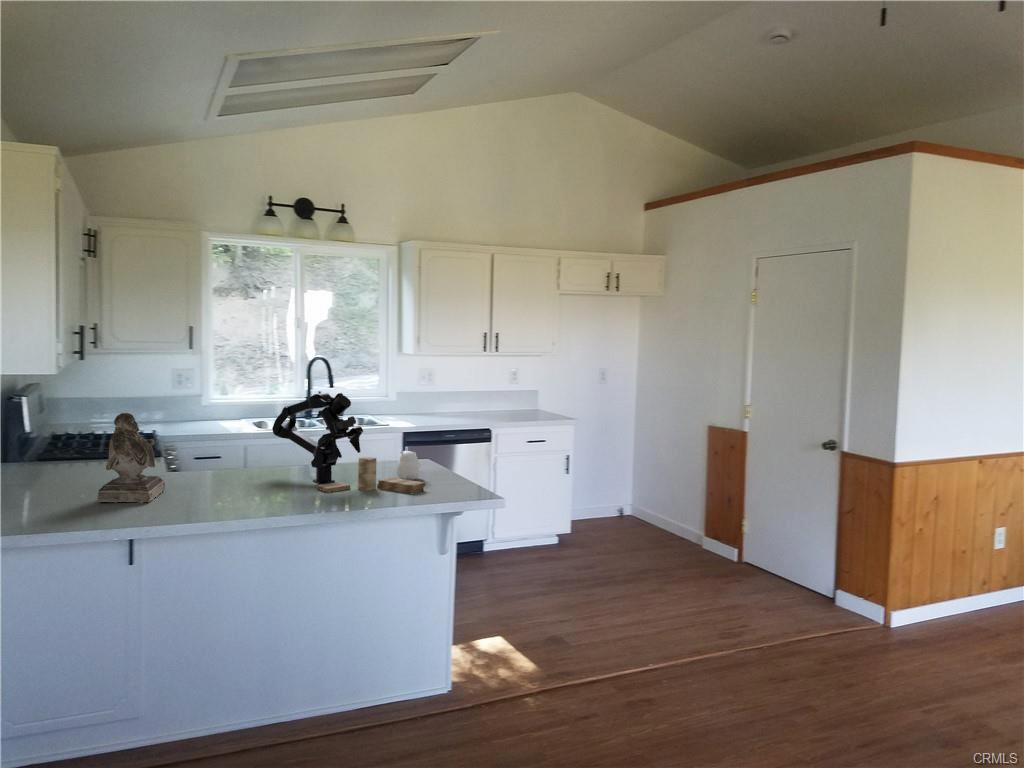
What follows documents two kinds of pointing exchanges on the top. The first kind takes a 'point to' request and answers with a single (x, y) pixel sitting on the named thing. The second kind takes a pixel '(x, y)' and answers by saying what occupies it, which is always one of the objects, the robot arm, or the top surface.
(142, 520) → the top surface
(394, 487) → the plank stack
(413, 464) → the figurine
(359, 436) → the robot arm
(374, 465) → the upright offcut
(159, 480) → the sculpture
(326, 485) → the loose offcut
